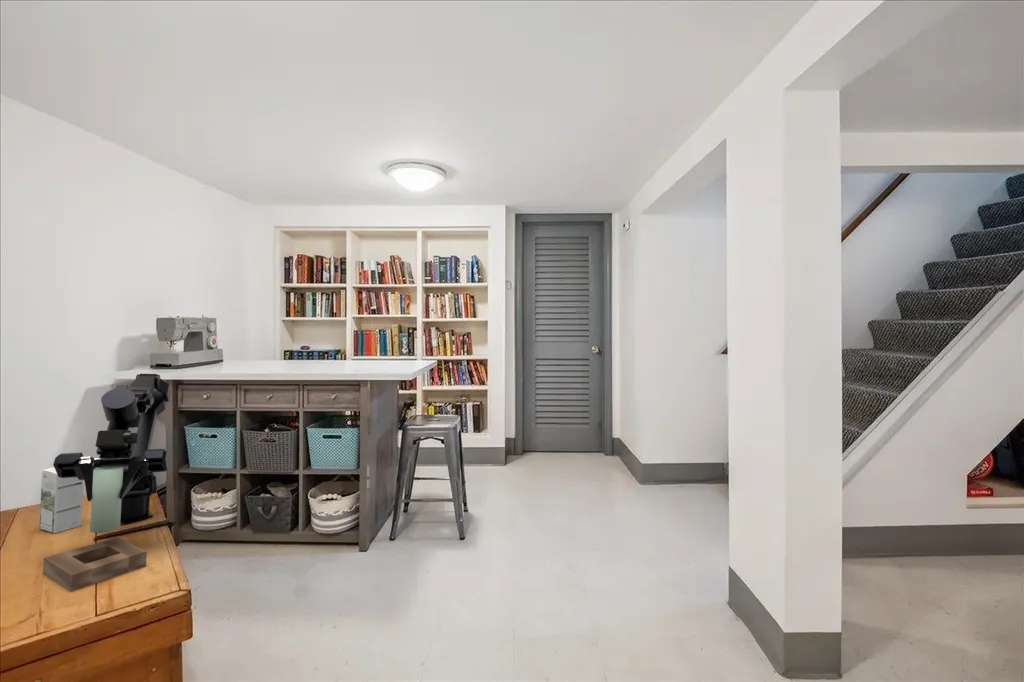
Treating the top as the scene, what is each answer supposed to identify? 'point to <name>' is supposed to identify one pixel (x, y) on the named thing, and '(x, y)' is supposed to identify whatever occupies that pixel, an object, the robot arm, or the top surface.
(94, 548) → the pocket block
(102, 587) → the top surface
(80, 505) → the syrup box
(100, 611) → the top surface
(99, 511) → the peg
